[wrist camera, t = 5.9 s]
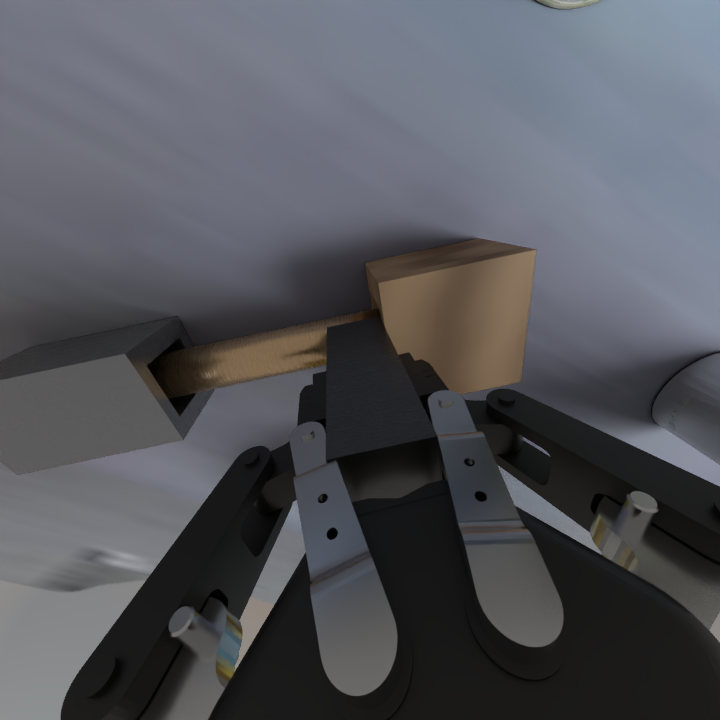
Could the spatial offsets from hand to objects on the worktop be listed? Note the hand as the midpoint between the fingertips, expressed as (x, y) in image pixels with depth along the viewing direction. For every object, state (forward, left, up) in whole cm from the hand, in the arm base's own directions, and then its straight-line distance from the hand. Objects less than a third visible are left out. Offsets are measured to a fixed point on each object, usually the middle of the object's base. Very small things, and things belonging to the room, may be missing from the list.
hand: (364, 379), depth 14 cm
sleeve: (+17, 0, -8) cm, 19 cm away
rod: (+5, 0, -7) cm, 9 cm away
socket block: (-6, 0, -8) cm, 10 cm away
